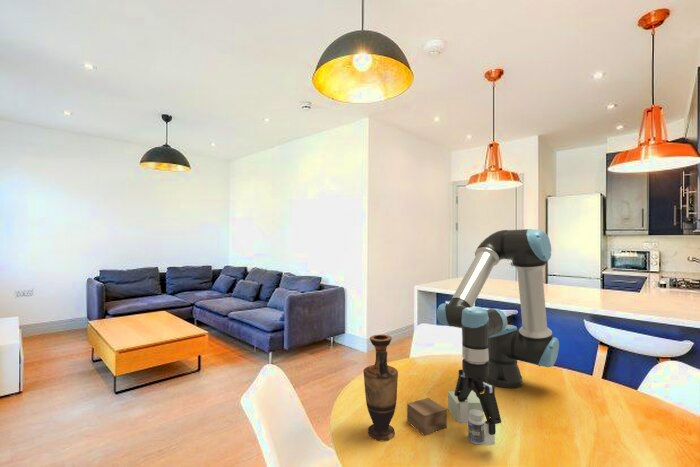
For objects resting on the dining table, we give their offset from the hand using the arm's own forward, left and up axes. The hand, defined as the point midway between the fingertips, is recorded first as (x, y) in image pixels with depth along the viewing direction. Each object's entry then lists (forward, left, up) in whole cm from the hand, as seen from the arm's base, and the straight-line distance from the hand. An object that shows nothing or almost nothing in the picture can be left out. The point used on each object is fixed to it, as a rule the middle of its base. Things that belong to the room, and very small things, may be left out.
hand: (476, 432), depth 103 cm
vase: (+26, -12, -2) cm, 29 cm away
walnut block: (+10, -12, -2) cm, 16 cm away
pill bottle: (0, 0, -2) cm, 2 cm away
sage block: (-6, -14, -2) cm, 15 cm away
